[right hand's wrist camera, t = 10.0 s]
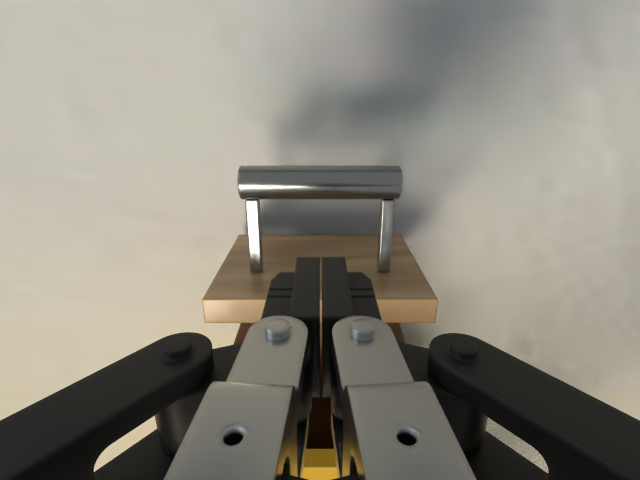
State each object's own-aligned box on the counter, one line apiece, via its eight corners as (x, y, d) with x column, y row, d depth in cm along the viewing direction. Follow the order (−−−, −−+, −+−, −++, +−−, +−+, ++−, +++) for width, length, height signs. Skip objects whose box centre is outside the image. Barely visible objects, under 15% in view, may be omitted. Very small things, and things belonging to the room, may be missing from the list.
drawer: (232, 150, 23) (187, 179, 15) (407, 150, 23) (452, 179, 15) (255, 443, 31) (233, 561, 23) (384, 443, 31) (406, 561, 23)
